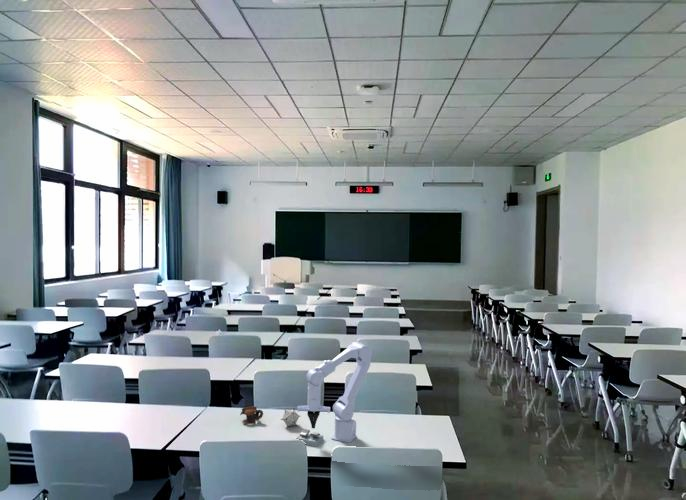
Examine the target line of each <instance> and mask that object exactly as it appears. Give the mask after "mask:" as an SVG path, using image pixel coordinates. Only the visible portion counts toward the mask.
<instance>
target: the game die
mask: <svg viewBox="0 0 686 500" xmlns="http://www.w3.org/2000/svg"><path fill="white" fill-rule="evenodd" d="M299 417H301V415H299V414H298V412H297V411H296V410H295V407H293V409H288V410H287V409H284V413H283V417H282V418H281V419H280V420H281V421H283V422H284V423H285V425H286V429H288V428H289V427H290V426H291V427H292V426H294V425H295V426H298V425H297V422H298V420H299Z"/></svg>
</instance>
